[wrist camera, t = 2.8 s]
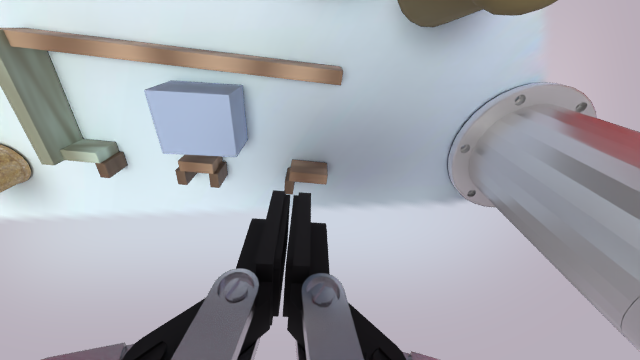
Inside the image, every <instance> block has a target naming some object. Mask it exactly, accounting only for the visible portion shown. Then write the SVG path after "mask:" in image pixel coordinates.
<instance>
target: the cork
mask: <svg viewBox="0 0 640 360" xmlns="http://www.w3.org/2000/svg"><path fill="white" fill-rule="evenodd" d="M397 1H398V3H399V6H400V8H401V11H402V12H403V14H404V15H405V16H406V17H407V18H408V19H409V20H410V21H411V22H413V23H415V24H417V25H419V26H422V27H435V26H439V25H442V24H445V23H448V22H451V21H453V20H456V19H459V18H461V17H464V16H467V15H469V14H472V13H475V12H477V11H480V10H483V9H484V10H486V11H488V12H490V13H492V14H495V15H522V14H526V13H529V12H532V11H536V10H539V9H542V8H544V7H546V6H549V5H551V4H552V3H554V2H556V1H557V0H397Z"/></svg>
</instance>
